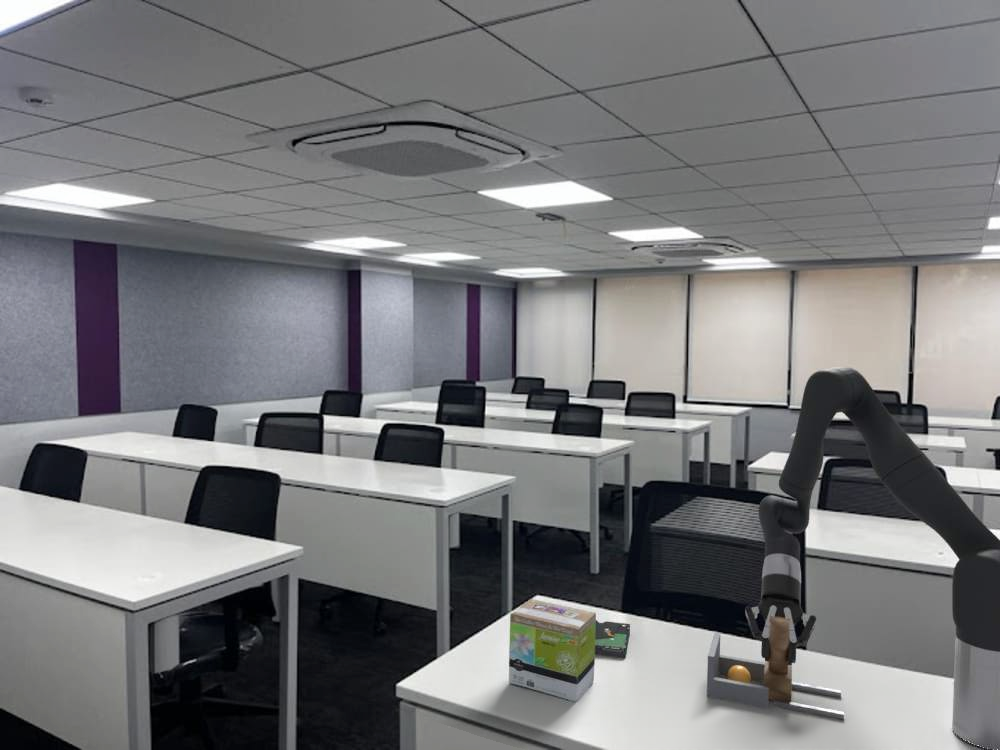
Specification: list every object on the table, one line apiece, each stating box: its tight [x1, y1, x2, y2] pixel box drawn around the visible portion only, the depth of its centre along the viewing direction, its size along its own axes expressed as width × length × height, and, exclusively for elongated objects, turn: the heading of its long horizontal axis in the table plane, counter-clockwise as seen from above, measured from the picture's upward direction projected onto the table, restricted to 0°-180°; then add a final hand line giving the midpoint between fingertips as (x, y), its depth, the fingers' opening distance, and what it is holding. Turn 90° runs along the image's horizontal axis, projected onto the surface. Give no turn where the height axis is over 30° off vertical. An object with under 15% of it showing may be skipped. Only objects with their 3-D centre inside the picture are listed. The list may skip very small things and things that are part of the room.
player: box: [763, 616, 793, 702], centre depth 138 cm, size 5×6×15 cm
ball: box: [727, 665, 752, 684], centre depth 141 cm, size 4×4×4 cm
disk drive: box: [595, 619, 631, 659], centre depth 162 cm, size 10×3×15 cm
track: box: [773, 681, 845, 720], centre depth 136 cm, size 12×10×1 cm
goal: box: [706, 632, 769, 709], centre depth 141 cm, size 11×12×8 cm
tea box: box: [508, 598, 597, 703], centre depth 141 cm, size 15×10×15 cm, turn 62°
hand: (778, 661), depth 136 cm, fingers closed on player, 3 cm apart
